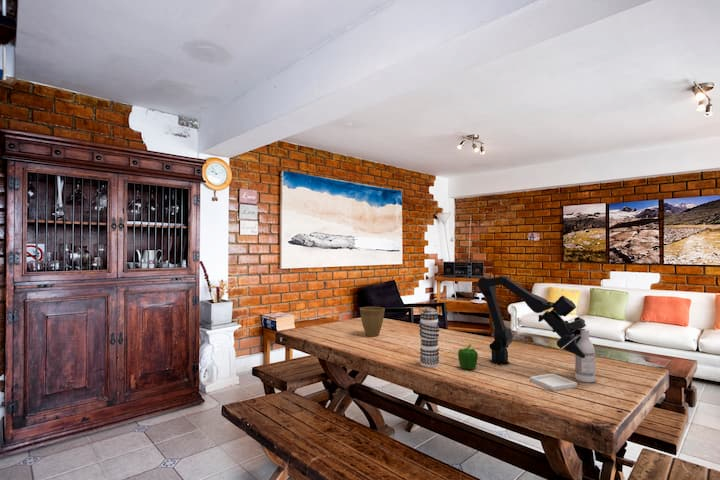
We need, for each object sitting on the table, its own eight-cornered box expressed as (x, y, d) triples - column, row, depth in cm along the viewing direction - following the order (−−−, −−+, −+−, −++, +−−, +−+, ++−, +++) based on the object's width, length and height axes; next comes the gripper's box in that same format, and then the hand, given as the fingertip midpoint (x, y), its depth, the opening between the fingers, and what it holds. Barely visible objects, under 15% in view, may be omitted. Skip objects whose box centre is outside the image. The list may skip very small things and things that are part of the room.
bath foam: (577, 375, 164) (576, 326, 164) (596, 379, 159) (596, 329, 159) (573, 380, 158) (572, 329, 158) (593, 384, 154) (592, 332, 154)
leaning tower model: (427, 359, 187) (426, 306, 187) (444, 364, 180) (443, 308, 181) (415, 364, 181) (414, 308, 181) (432, 368, 174) (431, 311, 174)
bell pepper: (468, 372, 169) (468, 348, 169) (454, 367, 176) (454, 344, 176) (482, 368, 173) (482, 345, 173) (468, 364, 180) (467, 341, 180)
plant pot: (385, 338, 229) (385, 310, 229) (359, 338, 229) (359, 310, 230) (384, 332, 244) (384, 306, 244) (360, 332, 244) (359, 306, 244)
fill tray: (553, 391, 147) (552, 386, 147) (529, 380, 158) (529, 376, 158) (577, 387, 151) (577, 382, 151) (552, 377, 162) (552, 373, 162)
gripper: (565, 314, 155) (598, 347, 147) (578, 308, 169) (609, 338, 161) (544, 331, 160) (574, 365, 153) (558, 324, 174) (587, 354, 166)
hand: (587, 355), depth 158 cm, fingers open, 9 cm apart
